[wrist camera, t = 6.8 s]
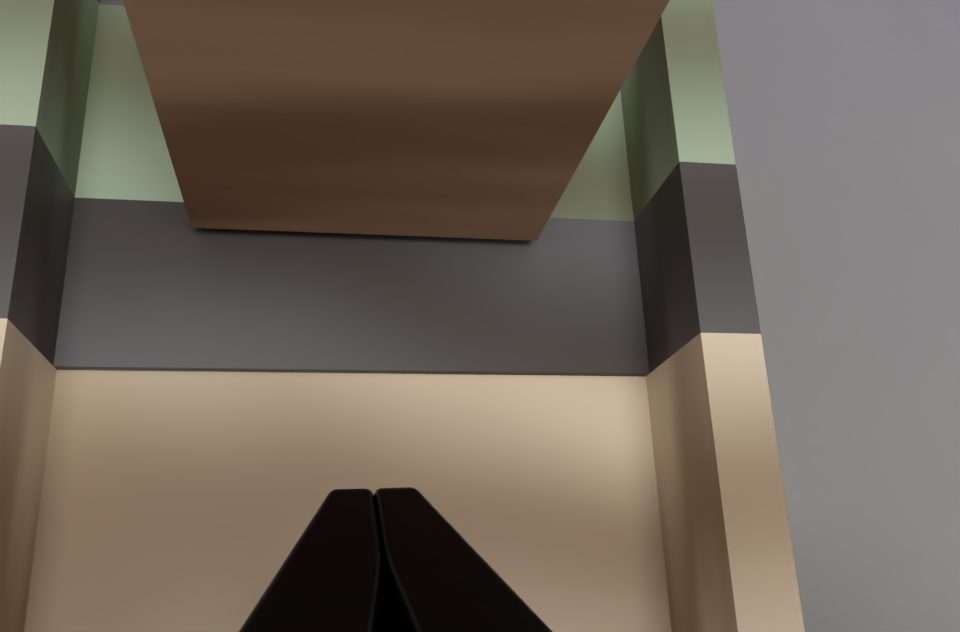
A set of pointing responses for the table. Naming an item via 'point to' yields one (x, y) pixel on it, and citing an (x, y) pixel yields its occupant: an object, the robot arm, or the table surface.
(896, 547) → the table surface
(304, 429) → the beige flat tray
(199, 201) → the walnut block
